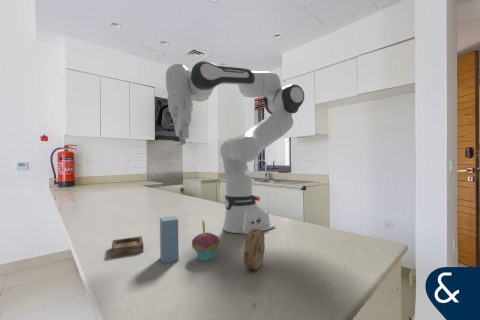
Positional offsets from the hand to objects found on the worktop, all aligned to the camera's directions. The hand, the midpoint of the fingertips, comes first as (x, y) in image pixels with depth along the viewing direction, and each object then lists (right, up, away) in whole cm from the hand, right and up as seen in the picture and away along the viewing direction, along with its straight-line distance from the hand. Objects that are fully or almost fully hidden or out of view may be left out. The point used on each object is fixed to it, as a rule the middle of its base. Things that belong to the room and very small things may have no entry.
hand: (184, 141), depth 88 cm
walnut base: (-16, -36, -10) cm, 41 cm away
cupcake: (+10, -36, -17) cm, 42 cm away
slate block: (0, -36, -18) cm, 41 cm away
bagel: (+25, -36, -24) cm, 50 cm away
